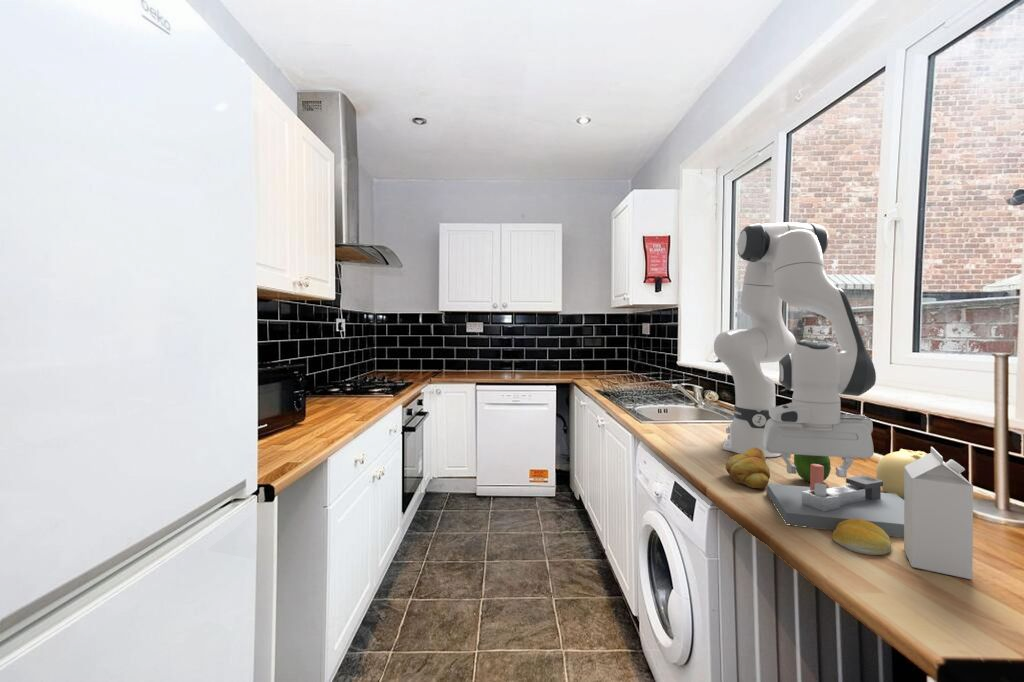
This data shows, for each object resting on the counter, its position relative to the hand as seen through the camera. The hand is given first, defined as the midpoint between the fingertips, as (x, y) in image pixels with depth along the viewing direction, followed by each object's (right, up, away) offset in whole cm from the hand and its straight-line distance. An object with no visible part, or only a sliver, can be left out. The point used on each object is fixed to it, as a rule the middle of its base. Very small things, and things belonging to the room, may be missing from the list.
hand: (815, 474), depth 97 cm
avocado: (+9, -6, +14) cm, 18 cm away
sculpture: (+24, -6, +4) cm, 26 cm away
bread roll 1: (-7, -7, +15) cm, 18 cm away
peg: (0, -7, 0) cm, 7 cm away
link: (+1, -4, -5) cm, 6 cm away
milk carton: (+3, -8, -24) cm, 25 cm away
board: (+2, -7, -5) cm, 9 cm away
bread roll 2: (-3, -8, -17) cm, 19 cm away
